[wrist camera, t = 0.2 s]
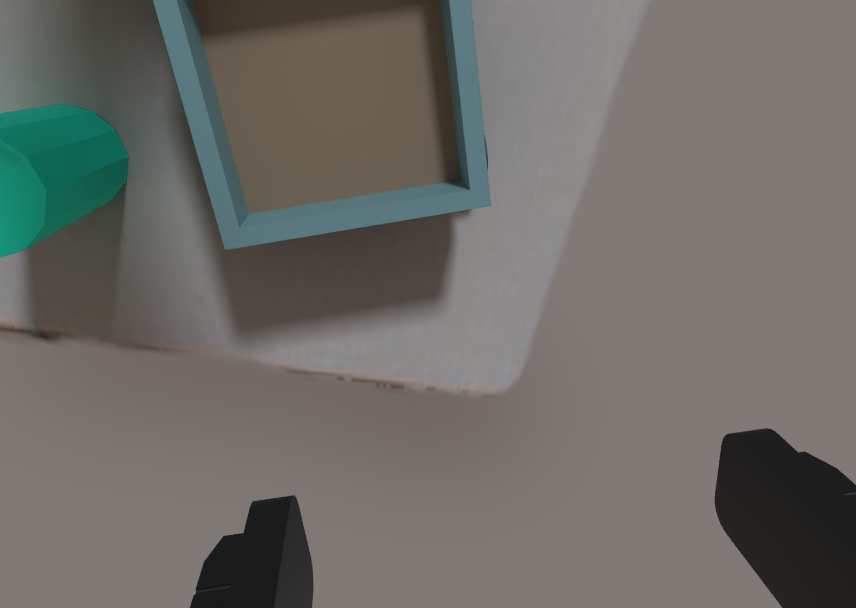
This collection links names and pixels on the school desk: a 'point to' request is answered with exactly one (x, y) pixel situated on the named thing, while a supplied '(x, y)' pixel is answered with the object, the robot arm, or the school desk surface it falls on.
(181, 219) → the school desk surface
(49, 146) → the candle
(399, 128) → the cart
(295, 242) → the school desk surface
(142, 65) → the school desk surface
